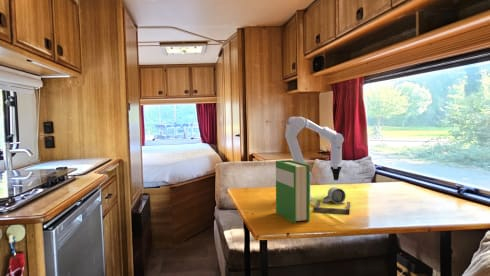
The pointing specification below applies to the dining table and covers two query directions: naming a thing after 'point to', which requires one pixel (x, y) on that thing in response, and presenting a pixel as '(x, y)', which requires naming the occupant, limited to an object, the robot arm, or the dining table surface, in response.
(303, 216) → the hardback book
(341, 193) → the ceramic mug
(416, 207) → the dining table surface
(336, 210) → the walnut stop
